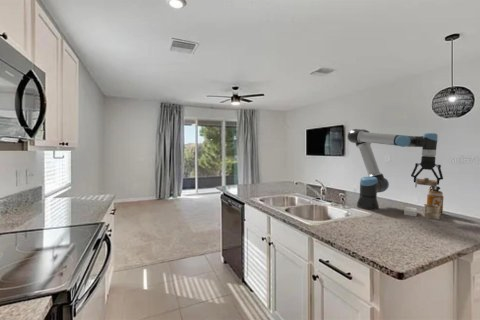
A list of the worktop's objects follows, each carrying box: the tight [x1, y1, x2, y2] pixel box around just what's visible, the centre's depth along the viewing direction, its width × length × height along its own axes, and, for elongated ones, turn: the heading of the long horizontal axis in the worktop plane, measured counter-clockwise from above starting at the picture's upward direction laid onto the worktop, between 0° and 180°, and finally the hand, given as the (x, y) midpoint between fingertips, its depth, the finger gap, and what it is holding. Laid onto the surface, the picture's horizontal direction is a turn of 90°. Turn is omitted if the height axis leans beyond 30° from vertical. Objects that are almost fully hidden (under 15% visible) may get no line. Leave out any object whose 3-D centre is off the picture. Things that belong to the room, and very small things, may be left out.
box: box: [423, 203, 442, 220], centre depth 162 cm, size 8×11×7 cm
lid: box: [417, 177, 438, 187], centre depth 164 cm, size 10×13×4 cm
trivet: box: [403, 206, 418, 217], centre depth 169 cm, size 7×13×3 cm, turn 145°
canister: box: [426, 185, 444, 215], centre depth 172 cm, size 9×11×20 cm
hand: (425, 188), depth 164 cm, fingers closed on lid, 10 cm apart
